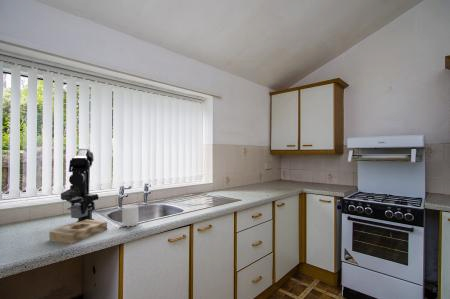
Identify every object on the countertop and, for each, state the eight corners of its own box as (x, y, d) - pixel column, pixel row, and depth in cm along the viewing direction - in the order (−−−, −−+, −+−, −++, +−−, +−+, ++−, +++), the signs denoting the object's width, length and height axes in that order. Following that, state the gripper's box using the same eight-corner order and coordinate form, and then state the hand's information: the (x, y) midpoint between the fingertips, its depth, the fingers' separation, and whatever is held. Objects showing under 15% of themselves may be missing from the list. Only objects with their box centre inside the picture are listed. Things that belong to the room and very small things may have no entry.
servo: (85, 213, 123) (85, 200, 123) (91, 214, 122) (91, 200, 122) (67, 218, 114) (67, 204, 114) (73, 219, 112) (73, 205, 112)
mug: (118, 223, 136) (117, 205, 136) (132, 219, 141) (132, 202, 141) (125, 228, 127) (125, 209, 127) (140, 224, 132) (140, 206, 132)
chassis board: (86, 226, 130) (86, 219, 130) (107, 229, 125) (106, 221, 125) (49, 240, 111) (49, 231, 111) (71, 243, 106) (71, 234, 106)
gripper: (49, 184, 113) (50, 216, 113) (79, 186, 107) (79, 220, 107) (71, 181, 124) (71, 210, 124) (99, 182, 118) (99, 213, 118)
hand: (79, 213), depth 118 cm, fingers closed on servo, 4 cm apart
